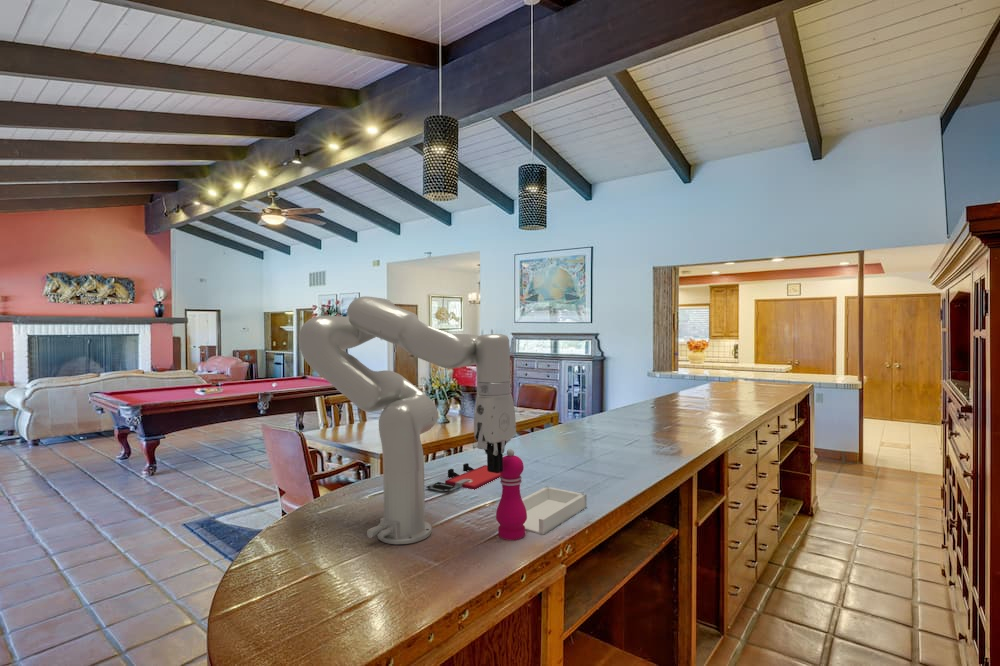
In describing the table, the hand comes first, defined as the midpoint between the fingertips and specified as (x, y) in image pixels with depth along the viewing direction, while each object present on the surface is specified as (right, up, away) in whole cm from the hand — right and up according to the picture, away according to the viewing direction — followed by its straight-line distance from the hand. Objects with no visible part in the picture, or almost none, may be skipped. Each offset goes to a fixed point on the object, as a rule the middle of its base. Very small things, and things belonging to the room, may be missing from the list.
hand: (495, 471), depth 111 cm
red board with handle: (-9, -17, +49) cm, 53 cm away
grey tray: (+13, -16, +17) cm, 27 cm away
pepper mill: (+4, -16, +5) cm, 18 cm away
